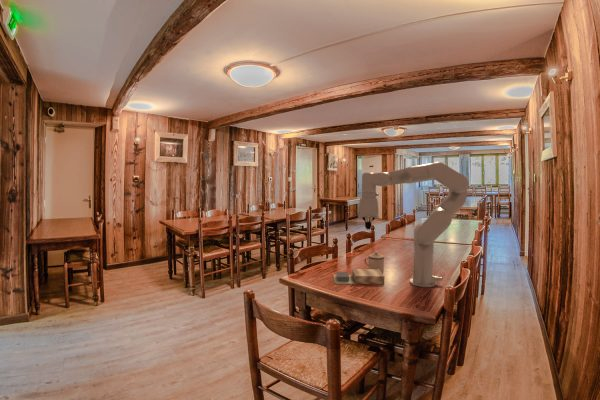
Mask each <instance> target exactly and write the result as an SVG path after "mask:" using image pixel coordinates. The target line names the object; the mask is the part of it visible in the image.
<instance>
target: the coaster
mask: <svg viewBox="0 0 600 400" xmlns="http://www.w3.org/2000/svg"><path fill="white" fill-rule="evenodd" d="M335 274H336V277H337V281H349V275H350V274H349V273H348V271H336V273H335Z"/></svg>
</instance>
